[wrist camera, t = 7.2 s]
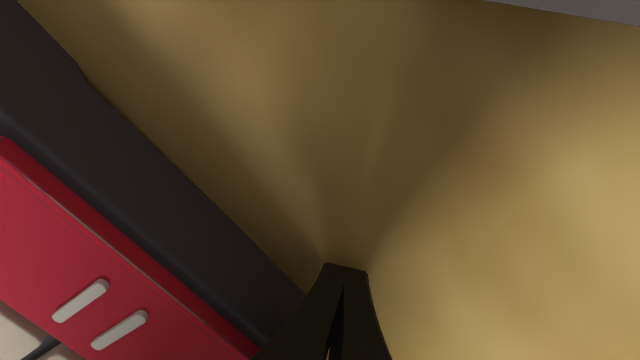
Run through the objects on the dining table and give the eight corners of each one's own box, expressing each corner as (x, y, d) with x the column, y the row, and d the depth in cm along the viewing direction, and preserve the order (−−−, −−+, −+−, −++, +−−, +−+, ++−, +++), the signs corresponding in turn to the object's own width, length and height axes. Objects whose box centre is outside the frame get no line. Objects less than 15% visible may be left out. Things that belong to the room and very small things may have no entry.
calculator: (95, 477, 17) (-330, 224, 12) (146, 379, 21) (-166, 155, 16) (302, 394, 13) (-243, -57, 8) (320, 287, 16) (-42, -64, 11)
